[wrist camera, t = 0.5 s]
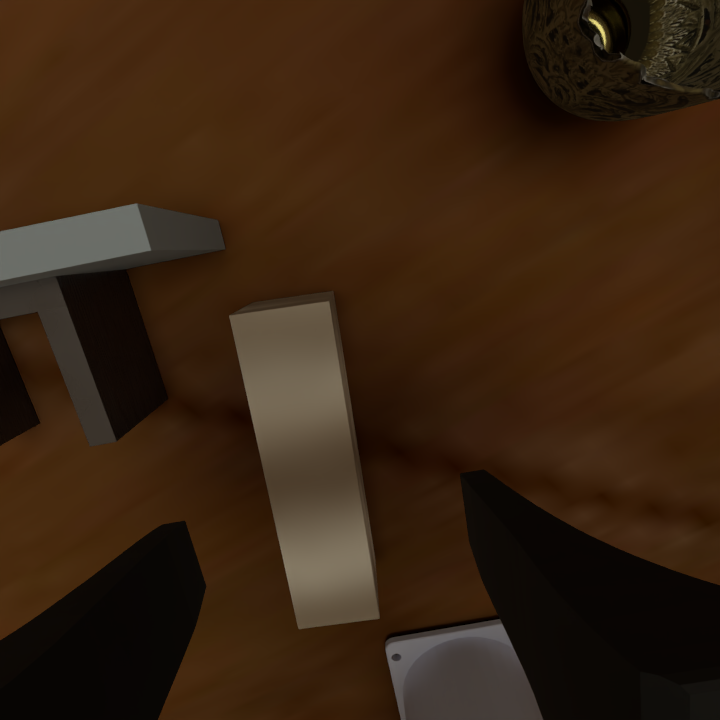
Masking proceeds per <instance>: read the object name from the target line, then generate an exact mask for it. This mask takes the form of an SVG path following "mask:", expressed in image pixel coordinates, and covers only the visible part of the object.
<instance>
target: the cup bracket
mask: <svg viewBox="0 0 720 720" xmlns="http://www.w3.org/2000/svg"><path fill="white" fill-rule="evenodd" d="M34 312H38V314H39V316H40V319H41V321H42V324H43V327H44V329H45V332H46V334H47V337H48V340H49V342H50V345H51V347H52V350H53V352H54V355H55V358H56V360H57V363H58V365H59V368H60V370H61V373H62V376H63V378H64V381H65V383H66V386H67V389H68V391H69V394H70V396H71V399H72V401H73V404H74V407H75V409H76V412H77V414H78V417H79V419H80V422H81V425H82V427H83V430H84V432H85V435H86V438H87V440H88V443H89V445H90V446H95V445H101V444H106V443H111V442H117V441H118V440H119V439H120V438H121V437H123V436H124V435H125V434H126V433H127V432H129V431H130V430H131V429H132V428H134V427H135V426H136V425H137V424H138V423H140V422H141V421H142V420H143V419H144V418H146V417H147V416H148V415H149V414H150V413H152V412H153V411H154V410H155V409H156V408H158V407H159V406H160V405H161V404H163V403H164V402H165V401H166V400H167V399H168V397H167V394H166V391H165V388H164V385H163V382H162V379H161V376H160V373H159V370H158V367H157V364H156V361H155V358H154V354H153V351H152V348H151V345H150V342H149V339H148V336H147V333H146V330H145V327H144V324H143V321H142V318H141V315H140V312H139V308H138V305H137V302H136V299H135V296H134V293H133V290H132V287H131V284H130V281H129V278H128V275H127V272H126V269H123V270H113V271H102V272H92V273H82V274H71V275H61V276H53V277H48V278H43V279H38V280H33V281H28V282H23V283H18V284H13V285H8V286H3V287H0V319H4V318H9V317H14V316H19V315H24V314H29V313H34ZM38 424H39V421H38V418H37V416H36V413H35V411H34V408H33V406H32V404H31V401H30V399H29V396H28V394H27V392H26V389H25V387H24V384H23V382H22V380H21V377H20V375H19V372H18V370H17V367H16V365H15V363H14V360H13V358H12V355H11V353H10V351H9V348H8V346H7V343H6V341H5V339H4V336H3V334H2V331H1V329H0V446H1V445H2V444H4V443H6V442H8V441H9V440H11V439H13V438H15V437H16V436H18V435H20V434H22V433H24V432H25V431H27V430H29V429H31V428H32V427H34V426H36V425H38Z"/></svg>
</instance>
